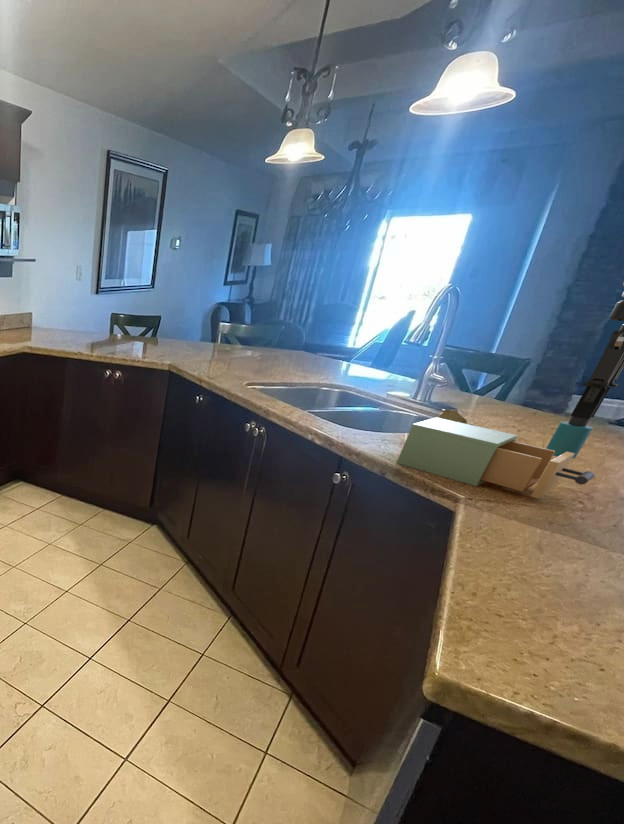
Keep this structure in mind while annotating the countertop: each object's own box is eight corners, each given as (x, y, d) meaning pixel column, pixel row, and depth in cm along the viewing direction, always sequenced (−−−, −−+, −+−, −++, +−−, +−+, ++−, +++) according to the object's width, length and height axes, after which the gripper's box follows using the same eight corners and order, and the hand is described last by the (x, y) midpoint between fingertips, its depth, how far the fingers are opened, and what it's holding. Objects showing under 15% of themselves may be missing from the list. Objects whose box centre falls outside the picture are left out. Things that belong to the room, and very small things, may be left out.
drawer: (584, 495, 101) (606, 460, 98) (569, 507, 95) (591, 470, 92) (473, 465, 115) (489, 433, 112) (453, 474, 109) (469, 441, 106)
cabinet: (496, 475, 112) (518, 435, 108) (476, 486, 106) (497, 443, 102) (419, 454, 124) (435, 417, 120) (396, 463, 117) (412, 423, 113)
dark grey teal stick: (577, 456, 108) (614, 394, 102) (572, 460, 105) (609, 396, 100) (547, 449, 112) (581, 389, 106) (541, 452, 109) (575, 391, 103)
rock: (484, 443, 127) (440, 427, 134) (494, 421, 121) (447, 406, 129) (456, 469, 127) (413, 452, 134) (464, 449, 121) (419, 432, 128)
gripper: (626, 299, 102) (566, 408, 112) (611, 298, 94) (547, 415, 104) (685, 302, 96) (615, 417, 106) (673, 302, 88) (599, 426, 98)
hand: (581, 416), depth 105 cm, fingers closed on dark grey teal stick, 3 cm apart
